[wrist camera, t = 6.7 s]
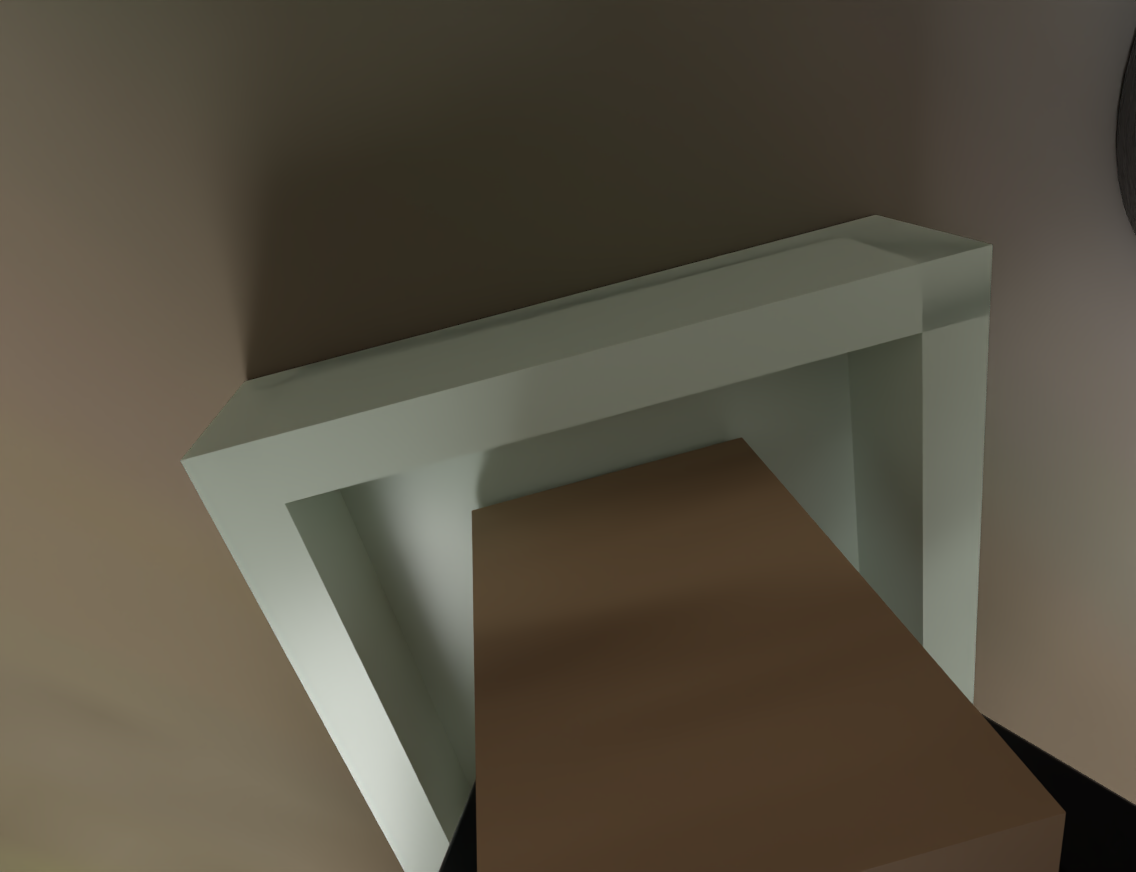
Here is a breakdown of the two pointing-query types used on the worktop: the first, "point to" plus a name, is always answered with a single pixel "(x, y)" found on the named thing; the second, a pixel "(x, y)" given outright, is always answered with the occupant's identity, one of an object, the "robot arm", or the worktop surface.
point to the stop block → (719, 694)
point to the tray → (600, 467)
